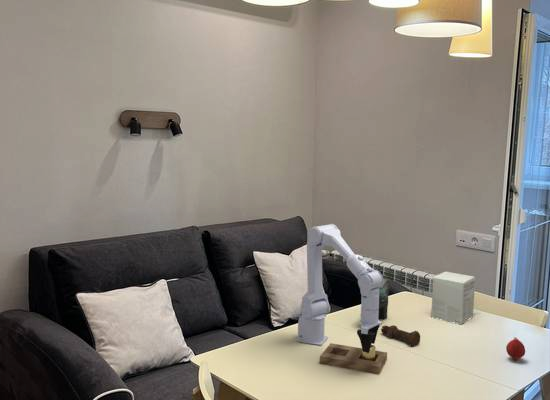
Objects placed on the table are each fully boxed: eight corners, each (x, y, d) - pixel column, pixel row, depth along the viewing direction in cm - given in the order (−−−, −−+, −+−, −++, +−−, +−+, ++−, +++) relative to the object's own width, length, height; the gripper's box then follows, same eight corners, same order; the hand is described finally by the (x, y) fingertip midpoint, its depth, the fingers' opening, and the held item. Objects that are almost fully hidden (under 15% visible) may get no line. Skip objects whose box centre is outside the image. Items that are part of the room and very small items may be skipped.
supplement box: (474, 316, 219) (476, 276, 217) (461, 325, 209) (463, 283, 207) (443, 309, 228) (445, 270, 225) (430, 317, 218) (432, 276, 216)
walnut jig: (319, 363, 173) (319, 356, 173) (330, 349, 184) (330, 343, 184) (379, 374, 166) (379, 366, 165) (387, 359, 177) (387, 352, 176)
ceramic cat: (378, 314, 221) (380, 268, 218) (393, 318, 217) (394, 271, 215) (357, 328, 205) (358, 279, 202) (372, 332, 201) (373, 282, 199)
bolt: (384, 338, 200) (417, 349, 189) (377, 334, 197) (410, 345, 186) (389, 323, 202) (422, 333, 190) (381, 319, 199) (415, 329, 187)
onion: (523, 357, 178) (524, 335, 177) (525, 364, 173) (527, 341, 172) (504, 355, 180) (506, 333, 179) (506, 362, 175) (507, 339, 174)
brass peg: (359, 365, 172) (360, 348, 171) (363, 360, 176) (364, 343, 175) (373, 368, 170) (373, 350, 169) (376, 362, 174) (377, 345, 173)
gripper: (377, 316, 162) (376, 357, 164) (386, 302, 176) (385, 341, 177) (355, 313, 165) (354, 354, 167) (365, 300, 178) (364, 338, 180)
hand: (368, 347), depth 172 cm, fingers open, 7 cm apart
